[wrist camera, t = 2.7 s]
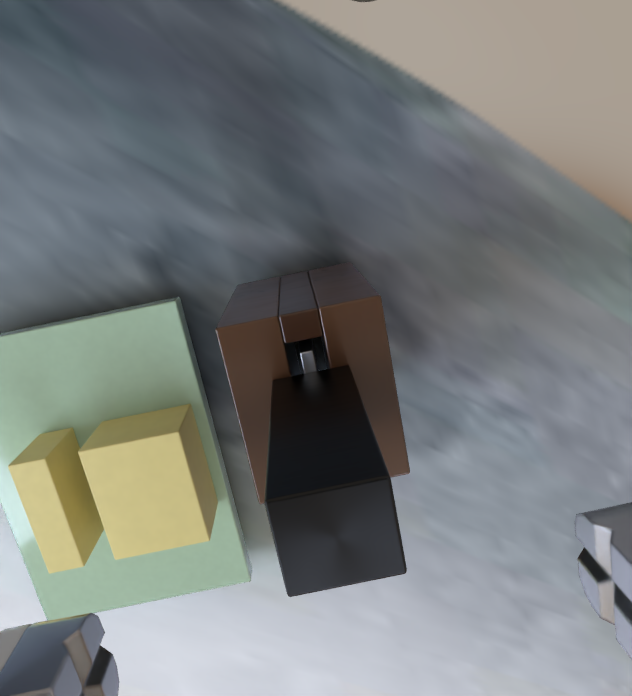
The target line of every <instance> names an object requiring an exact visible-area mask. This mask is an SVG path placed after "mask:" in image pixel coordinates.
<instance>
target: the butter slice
mask: <svg viewBox="0 0 632 696" xmlns="http://www.w3.org/2000/svg"><path fill="white" fill-rule="evenodd" d="M79 450H80V447H79V444H78V441H77V439H76V436H75V433H74V430H73V428H67V429H63V430H58V431H53V432H48V433H43V434H39V435H38V436H37V437H36V438H35V439H34V440H33V441H32V442H31V443H30V444H29V445H28V446H27V447H26V448H25V449H24V450H23V451H22V452H21V453H20V454H19V455H18V456H17V457H16V458H15V459H14V460H13V461H12V462H11V463H10V464H9V465H8V468H9V471H10V474H11V476H12V479H13V481H14V484H15V487H16V489H17V492H18V494H19V497H20V499H21V502H22V505H23V507H24V510H25V512H26V515H27V518H28V520H29V523H30V525H31V528H32V531H33V533H34V536H35V538H36V541H37V544H38V546H39V549H40V551H41V554H42V557H43V559H44V562H45V564H46V567H47V570H48V572H49V573H55V572H60V571H65V570H70V569H75V568H80V567H84V566H85V564H86V562H87V560H88V559H89V557H90V555H91V553H92V551H93V549H94V547H95V545H96V544H97V542H98V540H99V538H100V536H101V534H102V532H103V530H104V527H103V524H102V521H101V518H100V515H99V512H98V509H97V506H96V503H95V500H94V497H93V495H92V492H91V489H90V486H89V483H88V480H87V477H86V474H85V471H84V468H83V466H82V463H81V460H80V457H79V454H78V451H79Z"/></svg>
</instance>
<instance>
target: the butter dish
mask: <svg viewBox="0 0 632 696" xmlns="http://www.w3.org/2000/svg"><path fill="white" fill-rule="evenodd" d="M186 404H191V405H192V409H193V413H194V416H195V420H196V424H197V427H198V431H199V434H200V438H201V442H202V445H203V449H204V453H205V456H206V460H207V463H208V467H209V471H210V474H211V478H212V482H213V485H214V489H215V492H216V496H217V500H218V505H217V510H216V515H215V519H214V524H213V529H212V534H211V538H210V541H207V542H202V543H197V544H193V545H188V546H183V547H178V548H173V549H168V550H163V551H158V552H153V553H148V554H143V555H138V556H133V557H128V558H123V559H119V560H115V559H114V556H113V553H112V550H111V547H110V544H109V541H108V538H107V535H106V532H105V529H104V530H103V532H102V534H101V536H100V538H99V540H98V542H97V544H96V545H95V547H94V549H93V551H92V553H91V555H90V557H89V559H88V560H87V562H86V564H85V566H84V567H80V568H75V569H70V570H65V571H60V572H55V573H49V572H48V570H47V567H46V564H45V562H44V559H43V557H42V554H41V551H40V549H39V546H38V544H37V541H36V538H35V536H34V533H33V531H32V528H31V525H30V523H29V520H28V518H27V515H26V512H25V510H24V507H23V505H22V502H21V499H20V497H19V494H18V492H17V489H16V487H15V484H14V481H13V479H12V476H11V474H10V471H9V468H8V465H9V464H10V463H11V462H12V461H13V460H14V459H15V458H16V457H17V456H18V455H19V454H20V453H21V452H22V451H23V450H24V449H25V448H26V447H27V446H28V445H29V444H30V443H31V442H32V441H33V440H34V439H35V438H36V437H37V436H38V435H39V434H43V433H48V432H53V431H58V430H63V429H67V428H73V430H74V433H75V436H76V439H77V441H78V444H79V447H80V449H81V447H82V446H83V445H84V444H85V442H86V441H87V440H88V438H89V437H90V436H91V435H92V433H93V432H94V431H95V430H96V428H97V427H98V426H99V425H100V423H101V422H103V421H107V420H112V419H117V418H122V417H127V416H132V415H137V414H142V413H147V412H152V411H157V410H162V409H166V408H171V407H176V406H181V405H186ZM0 502H1V505H2V507H3V510H4V512H5V515H6V517H7V520H8V522H9V525H10V527H11V530H12V532H13V535H14V538H15V540H16V543H17V545H18V548H19V550H20V553H21V555H22V558H23V560H24V563H25V565H26V568H27V570H28V573H29V575H30V578H31V580H32V583H33V585H34V588H35V590H36V593H37V596H38V598H39V601H40V603H41V606H42V608H43V611H44V613H45V616H46V618H47V621H49V620H55V619H60V618H66V617H71V616H77V615H82V614H88V613H97V612H102V611H106V610H111V609H116V608H121V607H126V606H131V605H136V604H141V603H146V602H151V601H156V600H161V599H166V598H171V597H176V596H181V595H185V594H190V593H195V592H200V591H205V590H210V589H215V588H220V587H225V586H230V585H235V584H240V583H245V582H250V581H251V574H252V566H251V562H250V559H249V555H248V551H247V547H246V544H245V540H244V536H243V532H242V529H241V525H240V521H239V517H238V514H237V510H236V506H235V502H234V499H233V495H232V491H231V487H230V484H229V480H228V476H227V472H226V469H225V465H224V461H223V457H222V454H221V450H220V446H219V442H218V439H217V435H216V431H215V427H214V424H213V420H212V416H211V412H210V409H209V405H208V401H207V397H206V394H205V390H204V386H203V382H202V379H201V375H200V371H199V367H198V364H197V360H196V356H195V352H194V349H193V345H192V341H191V337H190V334H189V330H188V326H187V322H186V319H185V315H184V311H183V307H182V304H181V300H180V297H176V298H171V299H166V300H161V301H156V302H151V303H146V304H141V305H136V306H132V307H127V308H122V309H117V310H112V311H107V312H102V313H97V314H92V315H87V316H82V317H78V318H73V319H68V320H63V321H58V322H53V323H48V324H43V325H38V326H33V327H28V328H24V329H19V330H14V331H9V332H4V333H0Z"/></svg>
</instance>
